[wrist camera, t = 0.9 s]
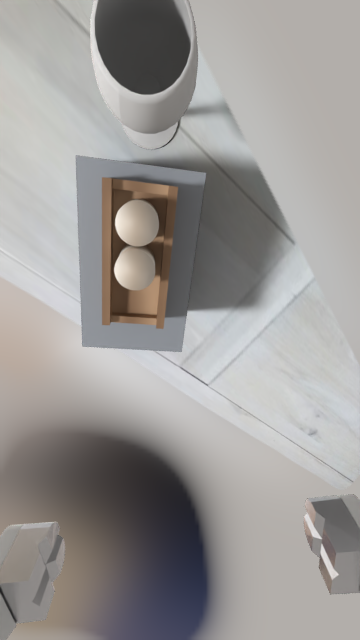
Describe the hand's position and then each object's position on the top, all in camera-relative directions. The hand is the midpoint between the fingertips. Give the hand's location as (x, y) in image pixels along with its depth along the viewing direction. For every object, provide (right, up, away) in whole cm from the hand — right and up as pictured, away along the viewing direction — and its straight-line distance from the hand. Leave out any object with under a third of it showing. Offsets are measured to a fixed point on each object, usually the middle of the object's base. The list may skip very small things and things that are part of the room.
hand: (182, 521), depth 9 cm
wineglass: (-4, +32, +26) cm, 41 cm away
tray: (-4, +13, +20) cm, 25 cm away
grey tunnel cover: (-6, +17, +32) cm, 37 cm away
